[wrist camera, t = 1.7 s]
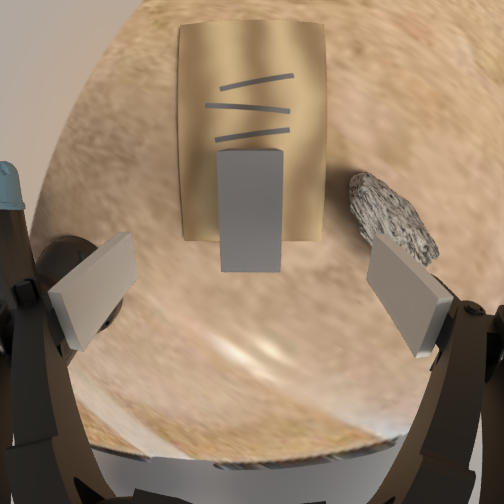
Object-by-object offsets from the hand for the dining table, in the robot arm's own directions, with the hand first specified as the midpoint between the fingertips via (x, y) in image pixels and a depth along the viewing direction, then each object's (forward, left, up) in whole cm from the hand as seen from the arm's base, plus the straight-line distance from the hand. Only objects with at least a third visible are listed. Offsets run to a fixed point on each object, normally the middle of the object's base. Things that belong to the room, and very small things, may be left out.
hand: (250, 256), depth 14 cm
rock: (+16, -2, -18) cm, 24 cm away
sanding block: (0, 0, -17) cm, 17 cm away
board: (0, +8, -18) cm, 20 cm away
